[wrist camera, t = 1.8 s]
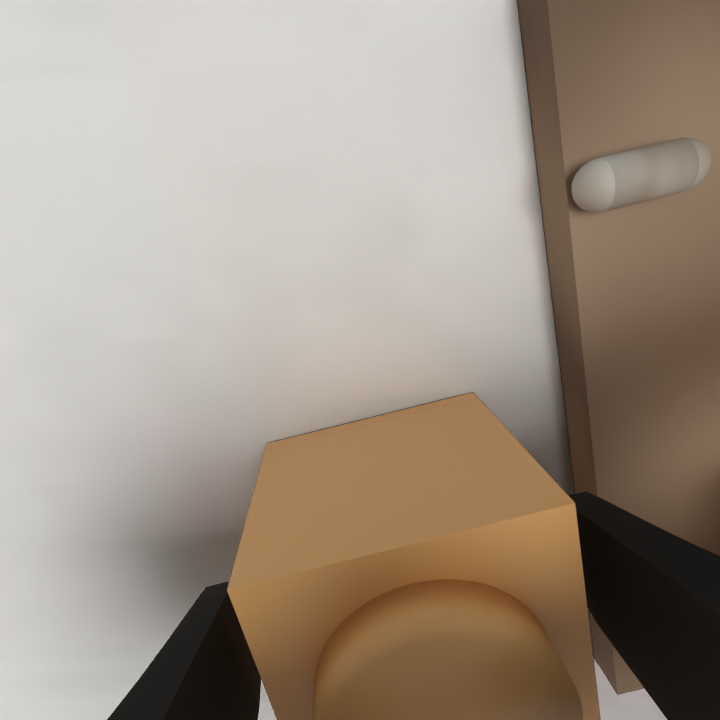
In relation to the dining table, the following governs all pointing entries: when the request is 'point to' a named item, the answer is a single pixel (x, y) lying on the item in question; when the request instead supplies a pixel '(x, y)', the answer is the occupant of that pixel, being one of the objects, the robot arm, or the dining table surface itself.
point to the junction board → (634, 253)
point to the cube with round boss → (414, 574)
